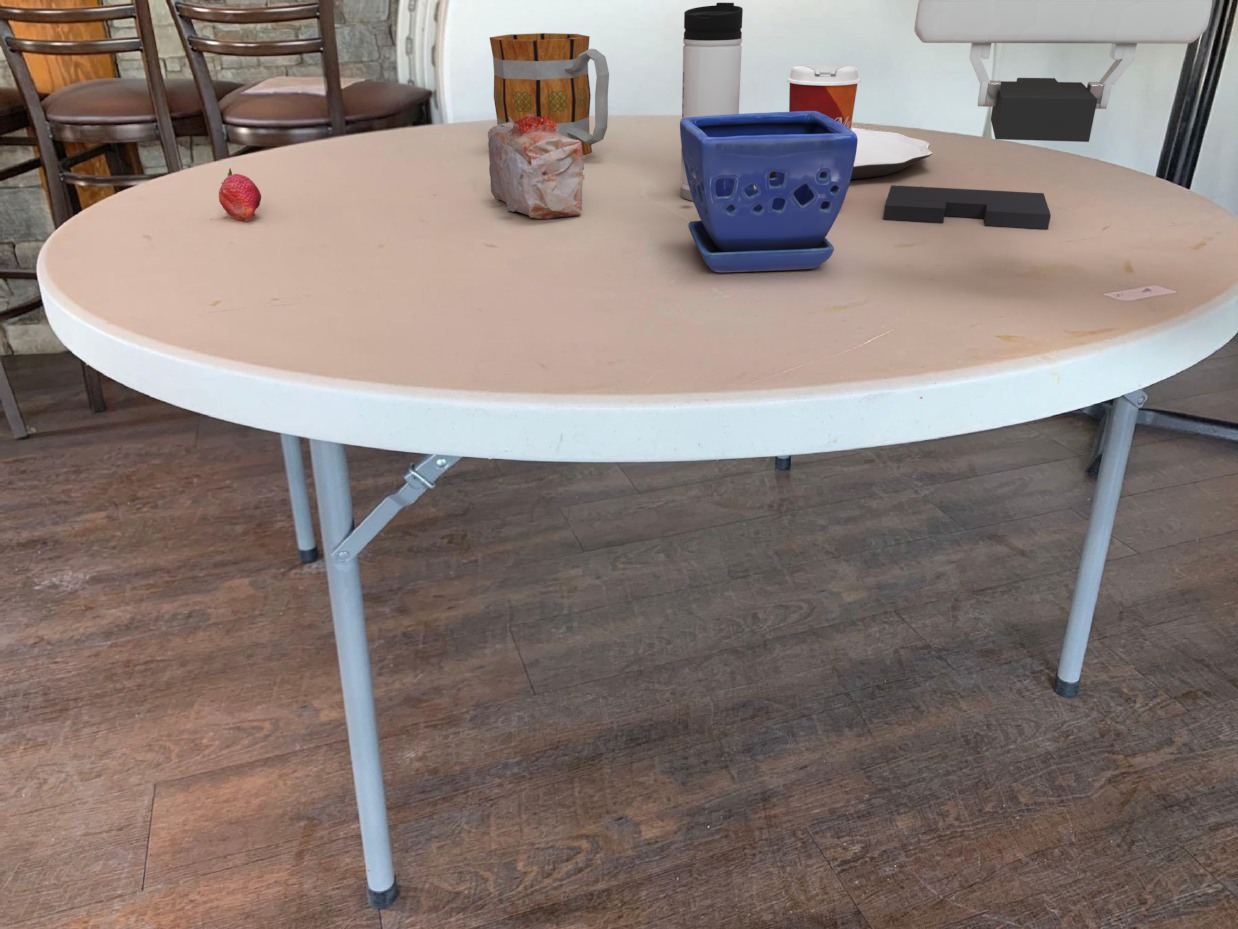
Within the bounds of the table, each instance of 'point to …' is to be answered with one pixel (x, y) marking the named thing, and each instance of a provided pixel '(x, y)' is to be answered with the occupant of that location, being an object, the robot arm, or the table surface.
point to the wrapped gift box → (536, 168)
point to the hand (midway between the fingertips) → (1039, 106)
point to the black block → (1043, 110)
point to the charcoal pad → (967, 206)
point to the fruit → (239, 196)
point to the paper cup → (824, 90)
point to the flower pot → (766, 187)
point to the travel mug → (710, 65)
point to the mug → (550, 82)
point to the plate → (884, 153)
